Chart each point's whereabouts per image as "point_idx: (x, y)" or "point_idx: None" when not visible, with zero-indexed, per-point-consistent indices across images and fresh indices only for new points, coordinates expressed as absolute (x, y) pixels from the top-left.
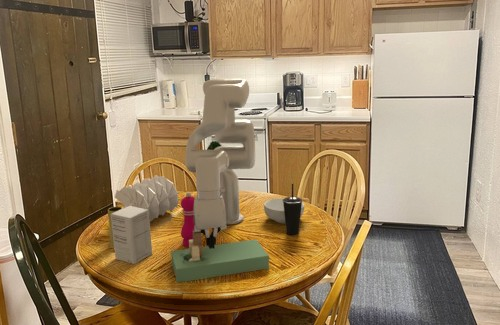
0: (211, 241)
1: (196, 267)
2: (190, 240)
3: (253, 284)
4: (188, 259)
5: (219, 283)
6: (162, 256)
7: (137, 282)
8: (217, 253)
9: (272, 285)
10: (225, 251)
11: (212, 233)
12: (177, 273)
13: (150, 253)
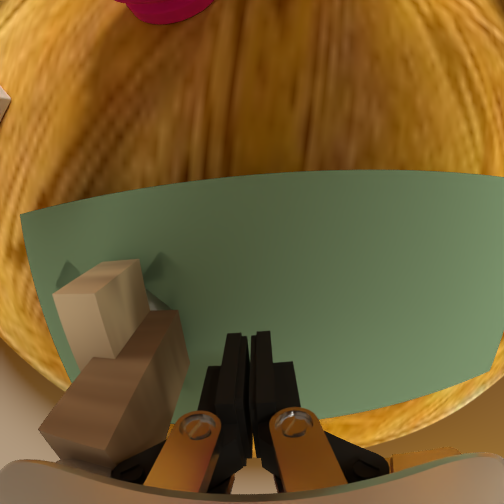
0: (251, 433)
1: None
2: (66, 314)
3: (369, 431)
4: None
5: None
6: (35, 122)
7: (7, 324)
8: (295, 325)
9: (411, 432)
10: (353, 306)
11: (271, 463)
12: None
13: (2, 109)
